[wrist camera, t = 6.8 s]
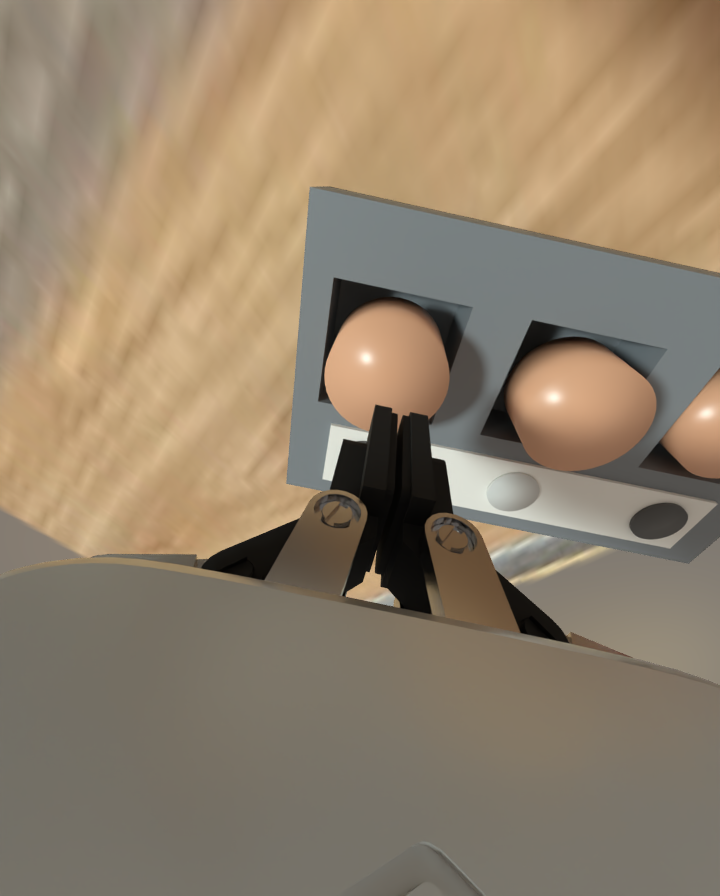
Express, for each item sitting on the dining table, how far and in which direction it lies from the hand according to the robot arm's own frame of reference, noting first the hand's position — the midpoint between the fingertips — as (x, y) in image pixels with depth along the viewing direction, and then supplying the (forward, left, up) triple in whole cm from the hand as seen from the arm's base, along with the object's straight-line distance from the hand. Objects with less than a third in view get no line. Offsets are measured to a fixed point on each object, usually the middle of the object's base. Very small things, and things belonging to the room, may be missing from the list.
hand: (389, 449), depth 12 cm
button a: (-1, 0, -6) cm, 7 cm away
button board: (+1, +8, -10) cm, 12 cm away
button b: (-1, +8, -6) cm, 10 cm away
